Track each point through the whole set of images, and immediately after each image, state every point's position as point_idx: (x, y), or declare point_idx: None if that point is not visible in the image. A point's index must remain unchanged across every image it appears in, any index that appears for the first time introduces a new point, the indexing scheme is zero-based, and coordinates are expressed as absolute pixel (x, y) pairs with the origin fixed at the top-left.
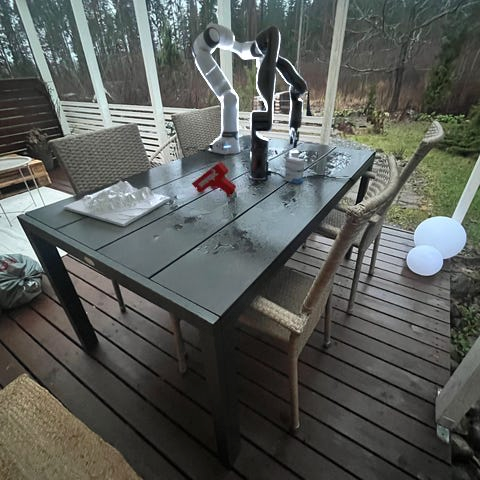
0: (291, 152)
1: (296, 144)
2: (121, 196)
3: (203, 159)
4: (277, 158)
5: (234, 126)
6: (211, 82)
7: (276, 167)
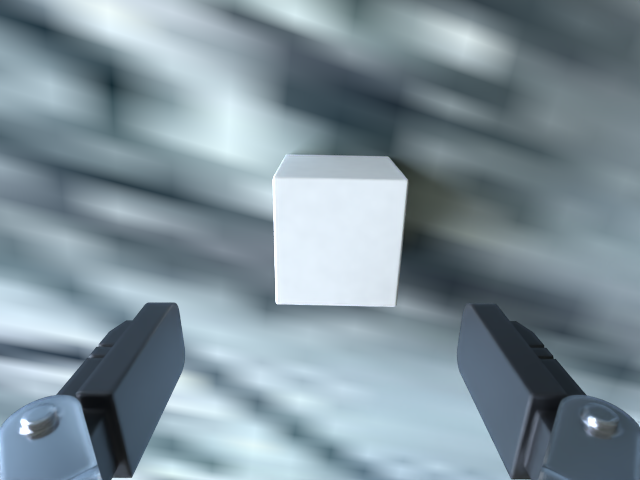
0: (383, 305)
1: (556, 365)
2: None
3: None
4: (294, 388)
5: None
6: None
7: None
